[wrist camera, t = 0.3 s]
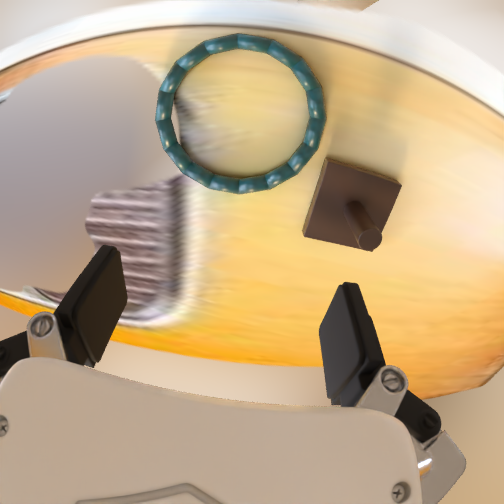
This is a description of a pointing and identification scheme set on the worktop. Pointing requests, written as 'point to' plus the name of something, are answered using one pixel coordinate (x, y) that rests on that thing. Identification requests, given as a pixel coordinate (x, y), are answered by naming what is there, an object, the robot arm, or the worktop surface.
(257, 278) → the worktop surface
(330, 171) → the stand
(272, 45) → the ring
